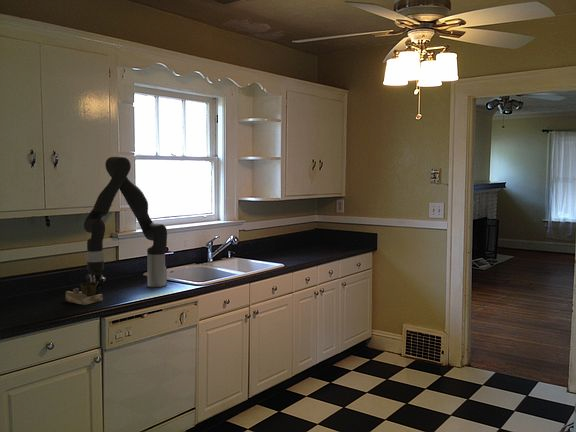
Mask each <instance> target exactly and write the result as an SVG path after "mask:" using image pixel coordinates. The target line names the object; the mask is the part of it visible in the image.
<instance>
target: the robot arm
mask: <svg viewBox="0 0 576 432" xmlns="http://www.w3.org/2000/svg"><path fill="white" fill-rule="evenodd" d="M104 165H105V170H106V173H108V175H109V176H110V178H111V179H110V181H109V182H108V184H106V186H105V187H104V188H103V189H102V191H101V192H100V193H99V194H98V196H97V198H96V200H95V203H94V206H93V208H92V209H91V210H90V212H89V213H88V215H87V216H86V218H85V219H84V222H83V228H84V231H85V232H87V233H90V234H91V235H90V238H88V239H87V242H86V248H87V250H86V251H87V252H86V270H87V271H88V274H87V275H85V276H84V277H85V280H86V283H87V282H90V283H91V284H92V285H93V286H95V284H96V283H97V290H96V294H95V295H98V294H100V288H102V287H104V285H105V283H106V282H107V277H104V273H103V270H104V268H105V264H104V263H105V261H104V258H105V257H104V247H103V244H104V243H103V242H104V237H105V234H106V233H105V232H106V224H105V222H104V221H103V220H102V218H103V217H105V216H107V215H108V213H109V211H110V208H111V207H112V203H113V202H114V199H115V198H116V195H117V193H118V191H120V193H121V195H122V196H123V197H124V200H125V202H126V203H127V205H128V207H129V208H130V210H131V211H132V213H133V216H135V218H136V221H137V223H138V224H139V226H140V229H141V231H142V234H143V236H144V237H145V239H147V240H148V241H152V242H153V243H152V246H151V247H148V248H147V249H146V252H147V257H146V258H147V259H146V260H147V271H146V272H147V287H149V288H161V287H165V286H166V285H167V282H168V281H167V277H168V276H167V273H168V269H167V267H166V249H167V243H168V240H167V239H168V231H167V230H168V229H167V226H165V225H164V224H162V223H154V222H153V220H152V219H151V217H150V215H149V203H148V199H147V197H146V196H145V194H144V193H143V191H142V189H141V188H139V186H137V185H136V184H135V183H134V182H133V181H132V180H131V179H130V178H129V177H128V176H129V173H130V171H131V167H132V164H131V161H130V160H129V159H128V158H127V157H124V156H110V157H108V158H107V159H106V161H105V164H104Z"/></svg>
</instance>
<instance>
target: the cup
mask: <svg viewBox="0 0 576 432" xmlns="http://www.w3.org/2000/svg"><path fill="white" fill-rule="evenodd" d="M80 290H81V291H80V292H82V294H86V295H87V297H89V296H93V295H95V294H96V290H97V283H96V284H95V286H93V285H92V284H91V283H90V282H87V281H86V282H84V284H83V282H81V283H80Z"/></svg>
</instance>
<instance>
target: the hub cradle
mask: <svg viewBox="0 0 576 432" xmlns="http://www.w3.org/2000/svg"><path fill="white" fill-rule="evenodd" d="M103 296H104V294H102V293H99V294H98V295H93V296H89V297H87V295H86V294H82V291H80V288H78V287H76V288H75V287H74V288H73V289H72V291H69V290H66V291H65V302H68V303H74V304H78V305H82V306H86V305H91V304H93V303H97V302H98V303H99V302H102V301H103V299H104V297H103Z"/></svg>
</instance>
